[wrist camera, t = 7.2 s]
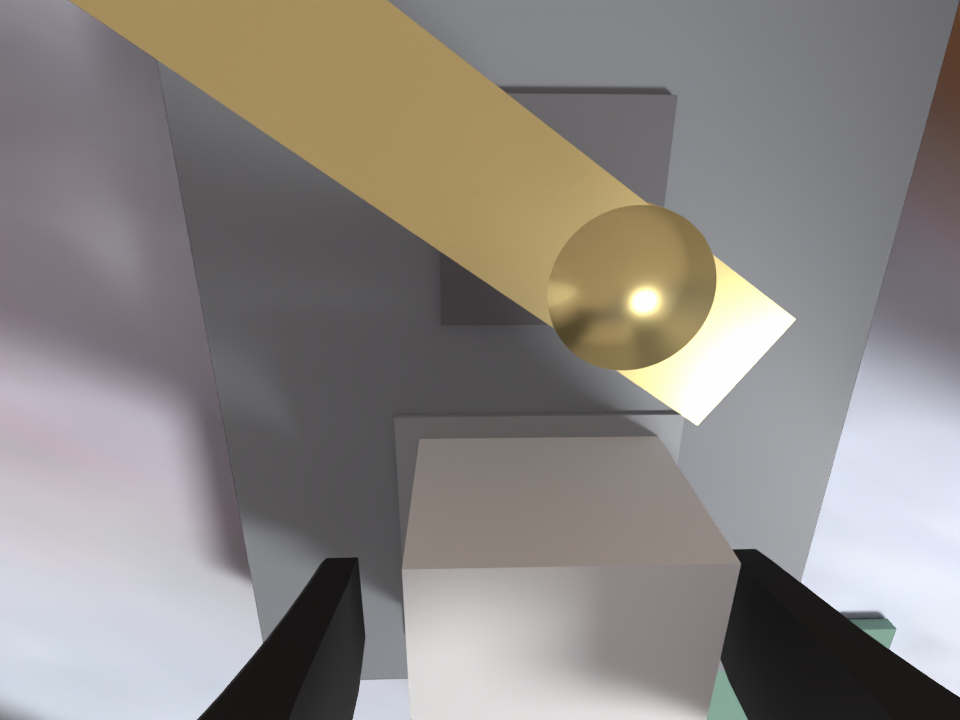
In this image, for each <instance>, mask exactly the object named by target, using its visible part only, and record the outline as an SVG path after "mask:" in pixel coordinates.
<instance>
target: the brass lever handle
mask: <svg viewBox="0 0 960 720" xmlns="http://www.w3.org/2000/svg"><path fill="white" fill-rule="evenodd" d="M69 1H71V2H72V3H74V4H75V5H77V6H78V7H80V8H81V9H83V10H84V11H86V12H87V13H89V14H90V15H92V16H93V17H95V18H96V19H97V20H99V21H100V22H102V23H103V24H105V25H106V26H108V27H109V28H111V29H112V30H114V31H115V32H117V33H118V34H120V35H121V36H123V37H124V38H126V39H127V40H129V41H130V42H131V43H133V44H134V45H136V46H137V47H139V48H140V49H142V50H143V51H145V52H146V53H148V54H149V55H151V56H152V57H154V58H155V59H157V60H158V61H160V62H161V63H163V64H164V65H165V66H167V67H168V68H170V69H171V70H173V71H174V72H176V73H177V74H179V75H180V76H182V77H183V78H185V79H186V80H188V81H189V82H191V83H192V84H194V85H195V86H196V87H198V88H199V89H201V90H202V91H204V92H205V93H207V94H208V95H210V96H211V97H213V98H214V99H216V100H217V101H219V102H220V103H222V104H223V105H225V106H226V107H228V108H229V109H230V110H232V111H233V112H235V113H236V114H238V115H239V116H241V117H242V118H244V119H245V120H247V121H248V122H250V123H251V124H253V125H254V126H256V127H257V128H259V129H260V130H262V131H263V132H264V133H266V134H267V135H269V136H270V137H272V138H273V139H275V140H276V141H278V142H279V143H281V144H282V145H284V146H285V147H287V148H288V149H290V150H291V151H293V152H294V153H295V154H297V155H298V156H300V157H301V158H303V159H304V160H306V161H307V162H309V163H310V164H312V165H313V166H315V167H316V168H318V169H319V170H321V171H322V172H324V173H325V174H327V175H328V176H329V177H331V178H332V179H334V180H335V181H337V182H338V183H340V184H341V185H343V186H344V187H346V188H347V189H349V190H350V191H352V192H353V193H355V194H356V195H358V196H359V197H361V198H362V199H363V200H365V201H366V202H368V203H369V204H371V205H372V206H374V207H375V208H377V209H378V210H380V211H381V212H383V213H384V214H386V215H387V216H389V217H390V218H392V219H393V220H394V221H396V222H397V223H399V224H400V225H402V226H403V227H405V228H406V229H408V230H409V231H411V232H412V233H414V234H415V235H417V236H418V237H420V238H421V239H423V240H424V241H426V242H427V243H428V244H430V245H431V246H433V247H434V248H436V249H437V250H439V251H440V252H442V253H443V254H445V255H446V256H448V257H449V258H451V259H452V260H454V261H455V262H457V263H458V264H460V265H461V266H462V267H464V268H465V269H467V270H468V271H470V272H471V273H473V274H474V275H476V276H477V277H479V278H480V279H482V280H483V281H485V282H486V283H488V284H489V285H491V286H492V287H493V288H495V289H496V290H498V291H499V292H501V293H502V294H504V295H505V296H507V297H508V298H510V299H511V300H513V301H514V302H516V303H517V304H519V305H520V306H522V307H523V308H525V309H526V310H527V311H529V312H530V313H532V314H533V315H535V316H536V317H538V318H539V319H541V320H542V321H544V322H545V323H547V324H548V325H550V326H551V327H553V328H554V329H555V331H556V333H557V335H558V336H559V338H560V339H561V341H562V342H563V343H564V345H565V346H566V347H567V348H568V349H569V350H570V351H571V352H573V353H574V354H575V355H576V356H578V357H579V358H581V359H582V360H584V361H586V362H588V363H590V364H592V365H595V366H597V367H601V368H605V369H611V370H616V371H618V372H619V373H621V374H622V375H624V376H625V377H626V378H628V379H629V380H631V381H632V382H634V383H635V384H637V385H638V386H640V387H641V388H643V389H644V390H646V391H647V392H649V393H650V394H652V395H653V396H655V397H656V398H658V399H659V400H660V401H662V402H663V403H665V404H666V405H668V406H669V407H671V408H672V409H674V410H675V411H677V412H678V413H680V414H681V415H683V416H684V417H686V418H687V419H689V420H690V421H691V422H693V423H694V424H696V425H697V426H698V424H699V423H700V422H701V421H702V420H703V419H704V418H705V417H706V416H707V415H708V414H709V413H710V411H711V410H712V409H713V408H714V407H715V406H716V405H717V404H718V403H719V402H720V401H721V400H722V399H723V397H724V396H725V395H726V394H727V393H728V392H729V391H730V390H731V389H732V388H733V387H734V386H735V384H736V383H737V382H738V381H739V380H740V379H741V378H742V377H743V376H744V375H745V374H746V373H747V371H748V370H749V369H750V368H751V367H752V366H753V365H754V364H755V363H756V362H757V361H758V360H759V359H760V357H761V356H762V355H763V354H764V353H765V352H766V351H767V350H768V349H769V348H770V347H771V346H772V344H773V343H774V342H775V341H776V340H777V339H778V338H779V337H780V336H781V335H782V334H783V333H784V332H785V330H786V329H787V328H788V327H789V326H790V325H791V324H792V323H793V322H794V321H795V320H796V319H795V318H794V317H792V316H791V315H790V314H788V313H787V312H786V311H785V310H783V309H782V308H781V307H780V306H778V305H777V304H776V303H774V302H773V301H772V300H771V299H769V298H768V297H767V296H765V295H764V294H763V293H762V292H760V291H759V290H758V289H756V288H755V287H754V286H753V285H751V284H750V283H749V282H747V281H746V280H745V279H744V278H742V277H741V276H740V275H739V274H737V273H736V272H735V271H733V270H732V269H731V268H730V267H728V266H727V265H726V264H724V263H723V262H722V261H721V260H719V259H718V258H717V257H715V256H714V255H713V254H712V251H711V249H710V246H709V244H708V243H707V241H706V239H705V238H704V236H703V235H702V234H701V232H700V231H699V230H698V229H697V228H696V227H695V226H694V225H693V224H692V223H691V222H690V221H689V220H687V219H686V218H684V217H683V216H681V215H679V214H677V213H675V212H673V211H671V210H668V209H666V208H663V207H660V206H657V205H655V204H652V203H649V202H646V201H644V200H642V199H641V198H640V197H639V196H637V195H636V194H635V193H634V192H632V191H631V190H630V189H628V188H627V187H626V186H625V185H623V184H622V183H621V182H619V181H618V180H617V179H616V178H614V177H613V176H612V175H610V174H609V173H608V172H607V171H605V170H604V169H603V168H602V167H600V166H599V165H598V164H596V163H595V162H594V161H593V160H591V159H590V158H589V157H587V156H586V155H585V154H584V153H582V152H581V151H580V150H578V149H577V148H576V147H575V146H573V145H572V144H571V143H569V142H568V141H567V140H566V139H564V138H563V137H562V136H561V135H559V134H558V133H557V132H555V131H554V130H553V129H552V128H550V127H549V126H548V125H546V124H545V123H544V122H543V121H541V120H540V119H539V118H537V117H536V116H535V115H534V114H532V113H531V112H530V111H529V110H527V109H526V108H525V107H523V106H522V105H521V104H520V103H518V102H517V101H516V100H514V99H513V98H512V97H511V96H509V95H508V94H507V93H505V92H504V91H503V90H502V89H500V88H499V87H498V86H497V85H495V84H494V83H493V82H491V81H490V80H489V79H488V78H486V77H485V76H484V75H482V74H481V73H480V72H479V71H477V70H476V69H475V68H473V67H472V66H471V65H470V64H468V63H467V62H466V61H464V60H463V59H462V58H461V57H459V56H458V55H457V54H456V53H454V52H453V51H452V50H450V49H449V48H448V47H447V46H445V45H444V44H443V43H441V42H440V41H439V40H438V39H436V38H435V37H434V36H432V35H431V34H430V33H429V32H427V31H426V30H425V29H424V28H422V27H421V26H420V25H418V24H417V23H416V22H415V21H413V20H412V19H411V18H409V17H408V16H407V15H406V14H404V13H403V12H402V11H400V10H399V9H398V8H397V7H395V6H394V5H393V4H392V3H390V2H389V1H388V0H69Z"/></svg>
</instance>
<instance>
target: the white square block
mask: <svg viewBox="0 0 960 720" xmlns="http://www.w3.org/2000/svg"><path fill="white" fill-rule="evenodd" d="M740 566H741V562H740V561H739V559H738V558H737V556H736V555H735V553H734V552H733V550H732V548H731V547H730V545H729V544H728V542H727V541H726V539H725V538H724V536H723V535H722V533H721V532H720V530H719V529H718V527H717V526H716V524H715V522H714V521H713V519H712V518H711V516H710V515H709V513H708V512H707V510H706V509H705V507H704V506H703V504H702V503H701V501H700V500H699V498H698V496H697V495H696V493H695V492H694V490H693V489H692V487H691V486H690V484H689V483H688V481H687V480H686V478H685V477H684V475H683V473H682V472H681V470H680V469H679V467H678V466H677V464H676V463H675V461H674V460H673V458H672V457H671V455H670V454H669V452H668V451H667V449H666V447H665V446H664V444H663V443H662V441H661V440H660V438H659V437H658V436H632V437H543V438H453V439H419V446H418V453H417V461H416V468H415V476H414V483H413V490H412V498H411V505H410V513H409V520H408V527H407V535H406V542H405V550H404V557H403V564H402V582H403V599H404V616H405V634H406V651H407V668H408V685H409V703H410V720H707V716H708V712H709V707H710V703H711V698H712V693H713V689H714V684H715V680H716V675H717V671H718V666H719V662H720V657H721V653H722V648H723V644H724V639H725V634H726V630H727V625H728V621H729V616H730V612H731V607H732V603H733V598H734V594H735V589H736V585H737V580H738V576H739V571H740Z"/></svg>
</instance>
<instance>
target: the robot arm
mask: <svg viewBox="0 0 960 720" xmlns="http://www.w3.org/2000/svg"><path fill="white" fill-rule="evenodd" d="M732 550H733V552H734V553H735V555H736V556H737V558H738V559H739V561H740V562H741V566H740V571H739V576H738V580H737V585H736V589H735V594H734V598H733V603H732V607H731V612H730V616H729V621H728V625H727V630H726V634H725V639H724V644H723V648H722V653H721V657H720V660H721V662H722V665H723V667H724V670H725V673H726V675H727V678H728V680H729V683H730V685H731V687H732V689H733V691H734V693H735V695H736V697H737V699H738V701H739V703H740V705H741V707H742V709H743V711H744V713H745V715H746V717H747V719H748V720H960V697H958V696H957V695H955V694H954V693H952V692H951V691H949V690H948V689H946V688H945V687H943V686H941V685H940V684H938V683H937V682H935V681H934V680H932V679H931V678H929V677H928V676H927V675H925V674H924V673H922V672H921V671H919V670H918V669H916V668H915V667H914V666H912V665H911V664H909V663H908V662H906V661H905V660H904V659H902V658H901V657H899V656H898V655H896V654H895V653H893V652H892V651H891V650H889V649H888V648H886V647H885V646H884V645H882V644H881V643H880V642H878V641H877V640H875V639H874V638H873V637H871V636H870V635H869V634H867V633H866V632H865V631H863V630H862V629H860V628H859V627H858V626H856V625H855V624H854V623H852V622H851V621H850V620H848V619H847V618H846V617H845V616H843V615H842V614H841V613H839V612H838V611H837V610H835V609H834V608H833V607H831V606H830V605H829V604H828V603H826V602H825V601H824V600H822V599H821V598H820V597H818V596H817V595H816V594H815V593H813V592H812V591H811V590H809V589H808V588H807V587H806V586H804V585H803V584H802V583H800V582H799V581H798V580H797V579H795V578H794V577H793V576H791V575H790V574H789V573H788V572H786V571H785V570H784V569H782V568H781V567H780V566H779V565H777V564H776V563H775V562H773V561H772V560H771V559H769V558H768V557H767V556H765V555H764V554H762V553H761V552H760V551H758V550H757V549H732ZM365 638H366V637H365V626H364V615H363V604H362V594H361V583H360V572H359V561H358V557H349V558H326V559H325V560H324V561H323V562H321V564H320V565H319V567H318V568H317V570H316V571H315V573H314V574H313V576H312V577H311V579H310V580H309V582H308V583H307V585H306V586H305V588H304V589H303V590H302V592H301V593H300V595H299V596H298V598H297V599H296V600H295V602H294V603H293V604H292V606H291V607H290V609H289V610H288V611H287V613H286V614H285V615H284V617H283V618H282V619H281V621H280V622H279V623H278V625H277V626H276V627H275V628H274V630H273V631H272V632H271V634H270V635H269V636H268V638H267V639H266V640H265V641H264V643H263V644H262V645H261V647H260V648H259V649H258V650H257V652H256V653H255V654H254V655H253V657H252V658H251V659H250V660H249V661H248V662H247V664H246V665H245V666H244V667H243V668H242V670H241V671H240V672H239V673H238V674H237V675H236V677H235V678H234V679H233V680H232V681H231V683H230V684H229V685H228V686H227V687H226V688H225V690H224V691H223V692H222V693H221V694H220V695H219V697H218V698H217V699H216V700H215V701H214V702H213V703H212V704H211V705H210V706H209V708H208V709H207V710H206V711H205V712H204V713H203V714H202V715H201V716H200V717H199V718H198V719H197V720H352V719H353V714H354V710H355V706H356V701H357V697H358V692H359V685H360V677H361V670H362V662H363V654H364V646H365Z"/></svg>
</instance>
